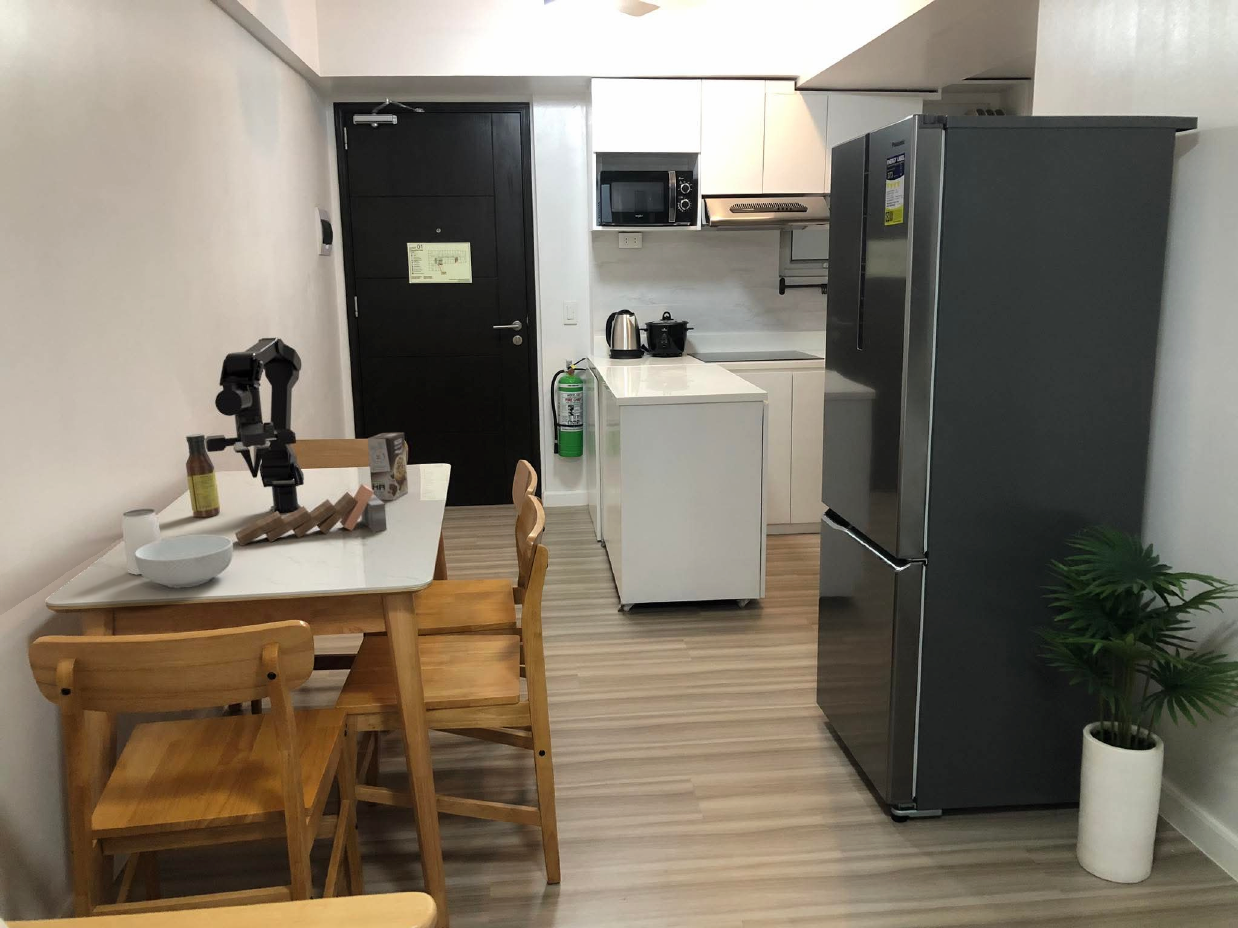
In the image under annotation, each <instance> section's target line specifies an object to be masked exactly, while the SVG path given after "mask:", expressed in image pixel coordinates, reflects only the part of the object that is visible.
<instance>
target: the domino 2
mask: <svg viewBox="0 0 1238 928" xmlns="http://www.w3.org/2000/svg"><path fill="white" fill-rule="evenodd" d="M309 512H310V511H309V510H307V508H306V507H305V505H303V506H301V508H299V509H297V510H295V511H291V513H288V514H287V515H285V516H284V517H281V518H282V519H283V521H284V523H285V524H283V525H281V526H279V527H277V528H275V529H274V530H272V531H270V532H268V533H266V534H265V536H266V538H267V539H268V541H269V542H270V543H271V542H274V541H276V540H277V539H278V538H280V537H282V536H284V535H285V534H287V533H289V532H290V531H293V530H292V529H294V528H296V527H298V526H299V525H301V524H303V523H304V522H306V521H308V520H309V519H311V518H312V517H311V515H310V514H309Z"/></svg>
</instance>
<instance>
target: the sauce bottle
mask: <svg viewBox="0 0 1238 928" xmlns="http://www.w3.org/2000/svg"><path fill="white" fill-rule="evenodd" d="M205 436H206V435H205V434H203V433H194V434H188V435H186V436H185V438H186V442H187V447H188V453H189V455H188V457H187V460H186V462H185V466H186V467H185V468H186V474H187V475H186V478H187V483H188V489H189V497H190V503H191V510H192V514H193V517H196V518H209V517H214V516H217V515H219V514H220V513H221V512H220V511H221V510H220V508H221V505H220V500H219V499H220V498H219V492H218V485H217V478H216V472H215V471H216V469H215V466H214V464H213V462H212V460H211V458H210V456H209V453H208V451H207V449H206V444H205V439H206V437H205Z"/></svg>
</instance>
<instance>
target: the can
mask: <svg viewBox="0 0 1238 928" xmlns="http://www.w3.org/2000/svg"><path fill="white" fill-rule="evenodd" d="M121 527H122V536H123V544H124V550H125V551H124V552H125V558H126V566H127V567H126V568H127V571H128V573H131V574H130V575H132V574H141V573H140V572H139V570H138V568H137V565H136V560H135V552H136V551H137V550H138V549H139V548H141V547H142V546H145V545H147V544H149V543H152V542H155V541H159V540H162V538H161V532H160V530H161V529H160V525H159V517H158V516H157V514H156V513H155V509H153V508H140V509H139V508H137V509H132V510H131V509H130V510H128V511H125V512H123V513H122V519H121Z"/></svg>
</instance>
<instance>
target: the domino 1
mask: <svg viewBox="0 0 1238 928" xmlns="http://www.w3.org/2000/svg"><path fill="white" fill-rule="evenodd" d="M282 518H283V517H282V516H281V514H280V513H279V512H278V511H276V512H272V513H270V514H269V515H267V516H265V517H263V518H261V519H259V520H257V521H255V522H253V523H251V524H249V525H247V526H246V527H243V528H241V529H240V530H238V531H236V532H234V534H235V538H236V540H237V542H238V543H239V545H240V546H241V547H243V546H245V545H247V544H248V543H250V542H252V541H254V540H256V539H258V538H260V537H262V536H263V535H266V533H268V532H270V531H272V530H274V529H275V528H277V527H279V526H281V525H283V524H285V523H284V521H283V519H282Z"/></svg>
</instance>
